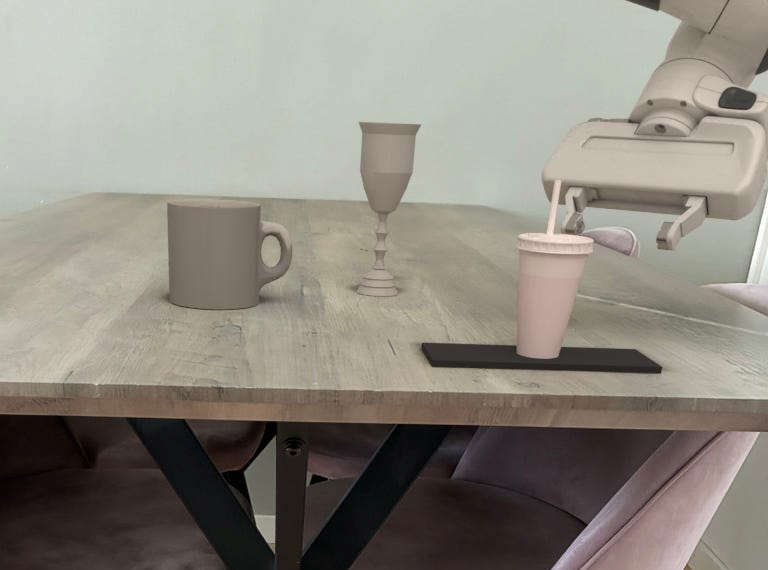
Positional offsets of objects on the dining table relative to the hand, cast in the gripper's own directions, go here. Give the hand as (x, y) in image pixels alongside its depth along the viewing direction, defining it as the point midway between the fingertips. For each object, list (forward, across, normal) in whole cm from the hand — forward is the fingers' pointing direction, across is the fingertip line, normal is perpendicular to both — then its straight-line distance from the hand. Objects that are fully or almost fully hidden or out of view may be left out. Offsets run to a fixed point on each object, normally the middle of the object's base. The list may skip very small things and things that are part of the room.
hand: (615, 240), depth 89 cm
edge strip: (+15, 0, -2) cm, 15 cm away
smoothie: (+15, 0, -2) cm, 15 cm away
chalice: (+2, -31, +11) cm, 33 cm away
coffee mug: (+15, -38, -2) cm, 41 cm away
